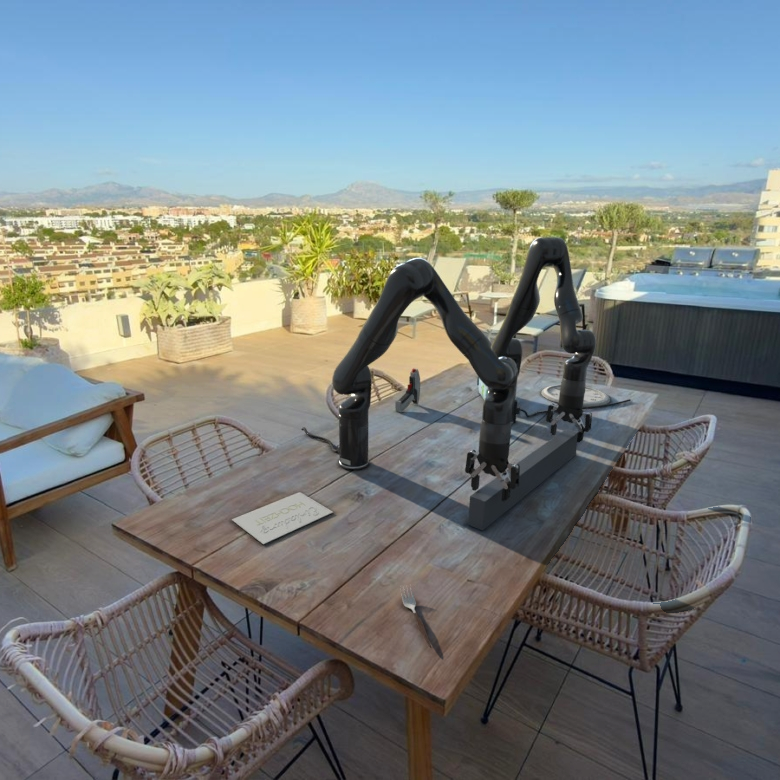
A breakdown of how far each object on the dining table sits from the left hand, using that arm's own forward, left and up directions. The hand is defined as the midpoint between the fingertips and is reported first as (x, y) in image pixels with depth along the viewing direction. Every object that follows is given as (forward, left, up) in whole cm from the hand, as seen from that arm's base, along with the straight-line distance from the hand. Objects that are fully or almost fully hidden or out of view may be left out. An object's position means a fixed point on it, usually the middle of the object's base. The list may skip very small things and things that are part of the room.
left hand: (489, 494), depth 135 cm
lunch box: (-88, +53, -7) cm, 103 cm away
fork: (+28, -32, -7) cm, 43 cm away
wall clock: (-80, +93, -7) cm, 122 cm away
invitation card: (-18, -50, -7) cm, 54 cm away
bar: (-13, +22, -7) cm, 26 cm away
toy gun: (-88, +13, -7) cm, 89 cm away
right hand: (-25, +44, 0) cm, 51 cm away
